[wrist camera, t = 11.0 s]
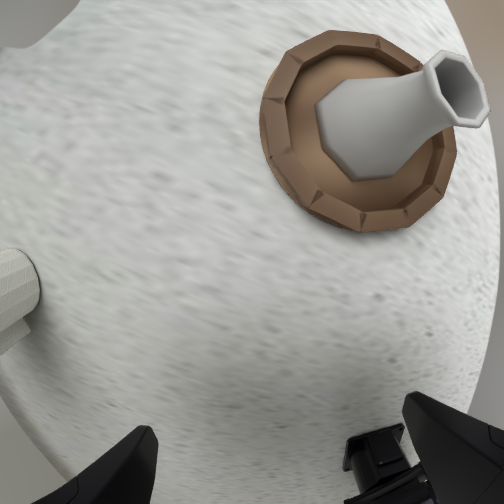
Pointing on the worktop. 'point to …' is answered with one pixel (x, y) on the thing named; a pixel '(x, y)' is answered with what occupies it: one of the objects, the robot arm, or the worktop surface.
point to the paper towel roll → (16, 296)
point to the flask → (398, 114)
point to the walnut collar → (315, 157)
